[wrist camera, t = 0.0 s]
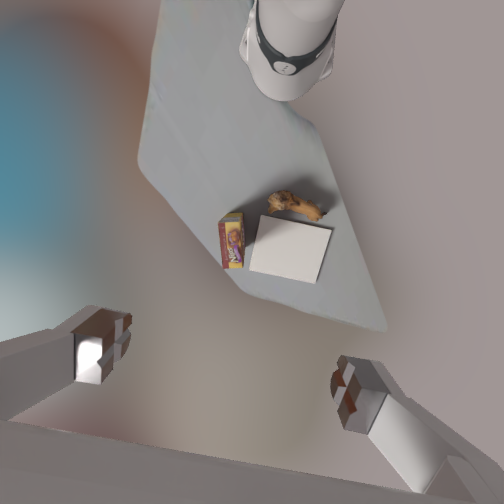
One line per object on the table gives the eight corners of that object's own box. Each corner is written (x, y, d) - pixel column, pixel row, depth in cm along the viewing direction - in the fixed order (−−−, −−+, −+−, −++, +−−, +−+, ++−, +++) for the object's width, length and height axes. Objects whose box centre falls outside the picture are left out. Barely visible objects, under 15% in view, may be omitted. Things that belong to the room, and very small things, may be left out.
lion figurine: (263, 209, 55) (264, 213, 46) (269, 186, 53) (271, 186, 45) (323, 223, 56) (335, 230, 47) (330, 201, 54) (344, 204, 45)
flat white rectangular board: (261, 214, 55) (261, 215, 54) (330, 229, 56) (331, 230, 55) (249, 268, 59) (248, 270, 58) (313, 282, 60) (314, 283, 59)
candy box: (247, 247, 58) (243, 269, 43) (229, 248, 58) (220, 270, 43) (244, 211, 55) (240, 221, 40) (226, 212, 55) (215, 222, 41)
